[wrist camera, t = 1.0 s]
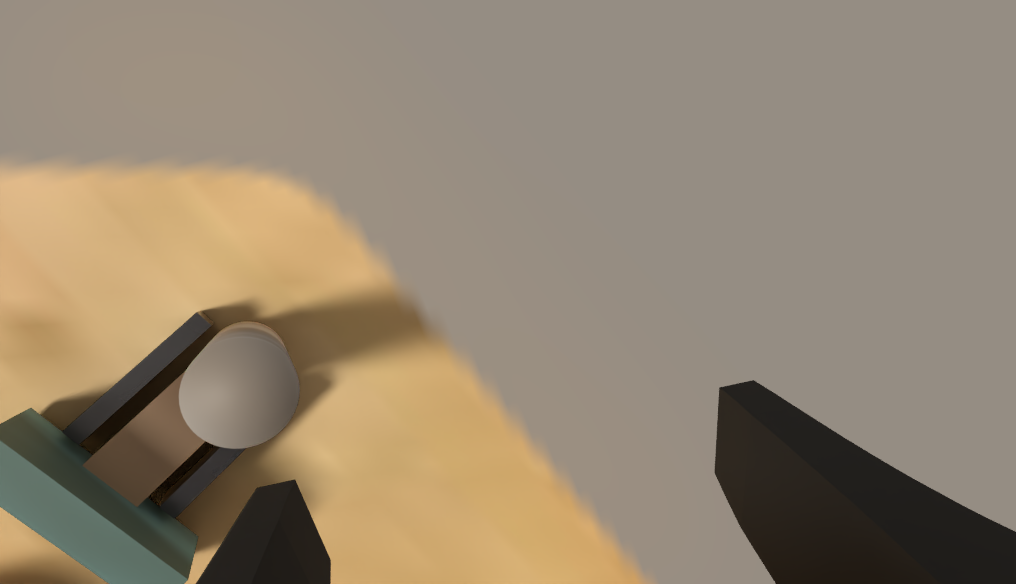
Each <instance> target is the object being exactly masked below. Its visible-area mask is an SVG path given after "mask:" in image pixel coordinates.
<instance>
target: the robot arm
mask: <svg viewBox="0 0 1016 584" xmlns="http://www.w3.org/2000/svg"><path fill="white" fill-rule="evenodd" d="M719 389H720V390H719V404H718V405H719V406H718V422H717V440H716V459H715V475H716V477H717V479H718V481H719V483H720V485H721V488H722V490H723V492H724V494H725V496H726V498H727V500H728V503H729V505H730V507H731V508H732V511H733V513H734V515H735V517H736V518H737V520H738V523H739V525H740V527H741V528H742V530H743V532H744V533H745V535H746V537H747V538H748V540H749V542H750V543H751V545H752V546H753V548H754V550H755V551H756V553H757V554H758V556H759V557H760V559H761V561H762V562H763V564H764V565H765V567H766V569H767V570H768V572H769V573H770V575H771V577H772V578H773V580H774V581H775V583H776V584H1016V532H1015V531H1013V530H1010V529H1008V528H1006V527H1004V526H1002V525H1000V524H998V523H996V522H994V521H992V520H990V519H988V518H986V517H984V516H982V515H980V514H978V513H976V512H974V511H972V510H970V509H968V508H966V507H964V506H962V505H960V504H959V503H957V502H955V501H953V500H951V499H949V498H948V497H946V496H944V495H942V494H940V493H938V492H936V491H935V490H933V489H931V488H929V487H927V486H926V485H924V484H922V483H920V482H918V481H916V480H915V479H913V478H911V477H909V476H907V475H906V474H904V473H902V472H900V471H899V470H897V469H895V468H894V467H892V466H890V465H889V464H887V463H885V462H883V461H881V460H880V459H878V458H877V457H875V456H873V455H872V454H870V453H868V452H867V451H865V450H863V449H862V448H860V447H858V446H857V445H855V444H854V443H852V442H850V441H849V440H847V439H845V438H843V437H842V436H841V435H839V434H837V433H836V432H834V431H832V430H831V429H829V428H828V427H826V426H825V425H823V424H822V423H820V422H818V421H817V420H815V419H814V418H812V417H810V416H809V415H807V414H806V413H804V412H803V411H801V410H800V409H798V408H797V407H795V406H793V405H792V404H790V403H788V402H787V401H786V400H784V399H782V398H781V397H779V396H778V395H776V394H775V393H773V392H772V391H770V390H768V389H767V388H765V387H764V386H762V385H760V384H759V383H757V382H755V381H754V380H753V381H748V382H744V383H739V384H735V385H730V386H725V387H720V388H719ZM330 571H331V560H330V558H329V555H328V553H327V551H326V549H325V546H324V544H323V542H322V540H321V537H320V535H319V533H318V531H317V528H316V526H315V524H314V522H313V519H312V517H311V515H310V512H309V510H308V508H307V506H306V503H305V501H304V499H303V497H302V494H301V492H300V490H299V488H298V485H297V483H296V481H295V480H291V481H286V482H282V483H277V484H273V485H268V486H263V487H259V488H257V489H256V490H255V492H254V493H253V494H252V496H251V497H250V499H249V501H248V502H247V504H246V505H245V507H244V508H243V510H242V512H241V513H240V515H239V516H238V518H237V520H236V521H235V523H234V524H233V526H232V528H231V529H230V531H229V532H228V534H227V536H226V537H225V539H224V540H223V542H222V544H221V545H220V547H219V548H218V550H217V552H216V553H215V555H214V556H213V558H212V559H211V561H210V563H209V564H208V566H207V567H206V569H205V570H204V572H203V574H202V575H201V577H200V578H199V580H198V581H197V583H196V584H330Z"/></svg>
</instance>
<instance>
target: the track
mask: <svg viewBox="0 0 1016 584" xmlns="http://www.w3.org/2000/svg"><path fill="white" fill-rule="evenodd" d="M213 324H214V322H213V321H212V320H211V319H209V318H208V317H207V316H206V315H205V314H204V313H203V312H202V311H199V312H197V313H195V314H194V315H193V316H192V317H191V318H190V319H189V320H188V321H186V322H185V323H184V324H183V325H182V326H181V327H180V328H179V329H177V330H176V331H175V332H174V333H173V334H172V335H171V336H169V337H168V338H167V339H166V340H165V341H164V342H163V343H162V344H160V345H159V346H158V347H157V348H156V349H155V350H154V351H153V352H151V353H150V354H149V355H148V356H147V357H146V358H145V359H144V360H142V361H141V362H140V363H139V364H138V365H137V366H136V367H134V368H133V369H132V370H131V371H130V372H129V373H128V374H127V375H125V376H124V377H123V378H122V379H121V380H120V381H119V382H118V383H116V384H115V385H114V386H113V387H112V388H111V389H110V390H108V391H107V392H106V393H105V394H104V395H103V396H102V397H101V398H99V399H98V400H97V401H96V402H95V403H94V404H93V405H92V406H90V407H89V408H88V409H87V410H86V411H85V412H84V413H83V414H81V415H80V416H79V417H78V418H77V419H76V420H75V421H73V422H72V423H71V424H70V425H69V426H68V427H67V428H66V429H64V430H63V431H62V433H63V434H65V435H66V436H67V437H69V438H70V439H71V440H72V441H74V442H75V443H76V444H78V445H79V444H80V443H82V442H83V441H84V440H85V439H86V438H87V437H88V436H90V435H91V434H92V433H93V432H94V431H95V430H96V429H97V428H98V427H100V426H101V425H102V424H103V423H104V422H105V421H106V420H107V419H108V418H110V417H111V416H112V415H113V414H114V413H115V412H116V411H117V410H118V409H120V408H121V407H122V406H123V405H124V404H125V403H126V402H127V401H128V400H130V399H131V398H132V397H133V396H134V395H135V394H136V393H137V392H138V391H140V390H141V389H142V388H143V387H144V386H145V385H146V384H147V383H148V382H150V381H151V380H152V379H153V378H154V377H155V376H156V375H157V374H158V373H160V372H161V371H162V370H163V369H164V368H165V367H166V366H167V365H168V364H170V363H171V362H172V361H173V360H174V359H175V358H176V357H177V356H178V355H180V354H181V353H182V352H183V351H184V350H185V349H186V348H187V347H188V346H190V345H191V344H192V343H193V342H194V341H195V340H196V339H197V338H198V337H200V336H201V335H202V334H203V333H204V332H205V331H206V330H207V329H208V328H210V327H211V326H212V325H213ZM245 449H246V448H241V449H230V448H223V447H219V446H214V447H213V448H212V449H211V450H209V451H208V452H207V453H206V454H205V455H204V456H203V457H202V458H201V459H200V460H199V461H198V462H197V463H196V464H195V465H194V466H193V467H192V468H191V469H190V470H189V471H188V472H187V473H186V474H185V475H184V476H183V477H182V478H181V479H180V480H179V481H177V482H176V483H175V484H174V485H173V486H172V487H171V488H170V489H169V490H168V491H167V492H166V493H165V495H164V498H163V500H162V502H161V504H160V506H159V508H161V509H162V510H163V511H165V512H166V513H167V514H169V515H170V516H171V517H172V518H174V519H175V518H176V517H177V516H178V515H179V514H180V513H181V512H182V511H183V510H184V509H185V508H186V507H187V506H188V505H189V504H190V503H191V502H192V501H193V500H194V499H195V498H196V497H197V496H198V495H199V494H200V493H201V492H202V491H203V490H204V489H205V488H206V487H207V486H208V485H209V484H210V483H211V482H212V481H213V480H214V479H215V478H216V477H217V476H218V475H220V474H221V473H222V472H223V471H224V470H225V469H226V468H227V467H228V466H229V465H230V464H231V463H232V462H233V461H234V460H235V459H236V458H237V457H238V456H239V455H240V454H241V453H242V452H243V451H244V450H245Z"/></svg>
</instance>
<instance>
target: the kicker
mask: <svg viewBox="0 0 1016 584" xmlns="http://www.w3.org/2000/svg"><path fill="white" fill-rule="evenodd" d="M299 393H300V386H299V379H298V375H297V373H296V370H295V368H294V365H293V363H292V361H291V359H290V356H289V354H288V352H287V350H286V347H285V345H284V343H283V341H282V339H281V338H280V336H279V335H278V334H277V333H276V332H275V331H274V330H273V329H272V328H270V327H268V326H266V325H264V324H262V323H258V322H253V321H243V322H237V323H234V324H231V325H229V326H227V327H225V328H224V329H222V330H221V331H220V332H218V333H217V334H216V335H215V336H214V338H213V339H212V340H211V341H210V342H209V343H208V344H207V345H206V347H205V348H204V349H203V350H202V351H201V352H200V353H199V354H198V356H197V357H196V358H195V359H194V360H193V361H192V362H191V364H190V365H189V366H188V368H187V369H186V370H185V371H184V372H183V373H182V374H181V375H180V376H179V377H178V378H176V379H175V380H174V381H173V382H172V383H171V384H170V385H169V386H168V387H167V388H165V389H164V390H163V391H162V392H161V393H160V394H159V395H158V396H157V397H156V398H155V399H153V400H152V401H151V402H150V403H149V404H148V405H147V406H146V407H145V408H144V409H142V410H141V411H140V412H139V413H138V414H137V415H136V416H135V417H134V418H133V419H131V420H130V421H129V422H128V423H127V424H126V425H125V426H124V427H123V428H122V429H121V430H119V431H118V432H117V433H116V434H115V435H114V436H113V437H112V438H111V439H110V440H108V441H107V442H106V443H105V444H104V445H103V446H102V447H101V448H100V449H99V450H97V451H96V452H95V453H94V454H93V455H92V454H90V453H89V452H88V451H87V450H85V449H84V448H83V447H81V446H80V445H78V444H76V443H75V442H74V441H72V440H71V439H70V438H69V437H67V436H66V435H65V434H63V433H62V431H61V430H59V429H58V428H57V427H55V426H54V425H53V424H51V423H50V422H49V421H48V420H46V419H45V418H44V417H42V416H41V415H40V414H38V413H37V412H36V411H35V410H33V409H32V408H30V409H28V410H26V411H24V412H22V413H20V414H18V415H16V416H14V417H13V418H11V419H9V420H7V421H5V422H3V423H1V424H0V507H1V508H3V509H4V510H5V511H7V512H8V513H10V514H11V515H13V516H14V517H15V518H17V519H18V520H20V521H21V522H22V523H24V524H25V525H27V526H28V527H29V528H31V529H32V530H34V531H35V532H37V533H38V534H39V535H41V536H42V537H44V538H45V539H46V540H48V541H49V542H51V543H52V544H54V545H55V546H56V547H58V548H59V549H61V550H62V551H63V552H65V553H66V554H68V555H69V556H71V557H72V558H73V559H75V560H76V561H78V562H79V563H80V564H82V565H83V566H85V567H86V568H88V569H89V570H90V571H92V572H93V573H95V574H96V575H97V576H99V577H100V578H102V579H103V580H105V581H106V582H107V583H109V584H184V583H185V582H186V581H187V580H188V578H189V574H190V569H191V565H192V561H193V557H194V553H195V549H196V545H197V540H198V536H197V535H196V534H194V533H193V532H192V531H190V530H189V529H188V528H187V527H185V526H184V525H183V524H181V523H180V522H179V521H177V520H176V519H174V518H172V517H171V516H170V515H169V514H167V513H166V512H165V511H163V510H162V509H161V508H159V506H158V505H157V504H155V503H154V502H153V501H151V500H150V499H149V498H148V496H149V495H150V494H151V493H152V492H153V491H154V490H155V489H156V488H157V487H158V486H160V485H161V484H162V483H163V482H164V481H165V480H166V479H167V478H168V477H169V476H170V475H171V474H172V473H173V472H174V471H175V470H176V469H177V468H178V467H179V466H180V465H181V464H182V463H183V462H184V461H186V460H187V459H188V458H189V457H190V456H191V455H192V454H193V453H194V452H195V451H196V450H197V449H198V448H199V447H200V446H201V445H202V444H203V443H204V442H205V441H206V442H208V443H210V444H213V445H215V446H219V447H223V448H230V449H241V448H248V447H252V446H256V445H259V444H261V443H264V442H266V441H267V440H269V439H271V438H273V437H274V436H275V435H277V434H278V433H279V432H280V431H281V430H283V428H284V427H285V426H286V425H287V424H288V422H289V421H290V420H291V418H292V416H293V414H294V413H295V410H296V408H297V405H298V401H299Z"/></svg>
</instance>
